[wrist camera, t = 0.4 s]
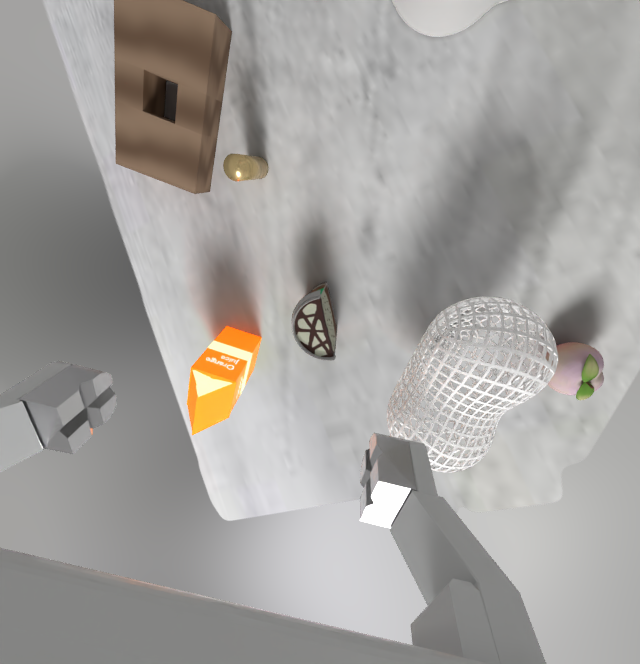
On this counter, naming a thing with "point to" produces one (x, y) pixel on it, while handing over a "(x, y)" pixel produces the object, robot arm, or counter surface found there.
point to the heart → (424, 345)
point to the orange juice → (220, 377)
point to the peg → (245, 167)
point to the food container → (316, 324)
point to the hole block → (150, 86)
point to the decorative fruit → (577, 370)
